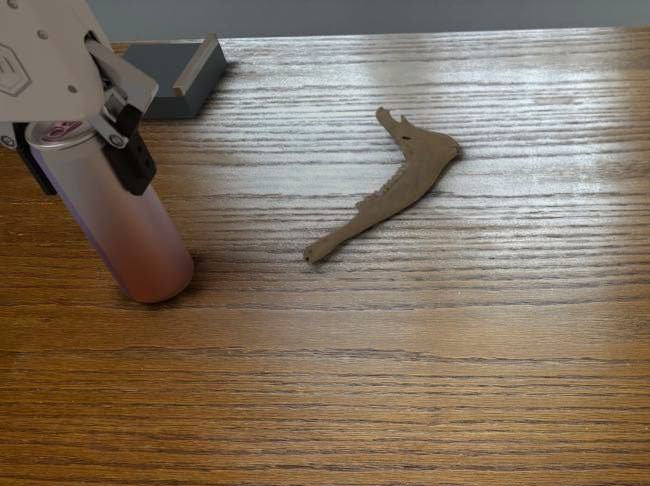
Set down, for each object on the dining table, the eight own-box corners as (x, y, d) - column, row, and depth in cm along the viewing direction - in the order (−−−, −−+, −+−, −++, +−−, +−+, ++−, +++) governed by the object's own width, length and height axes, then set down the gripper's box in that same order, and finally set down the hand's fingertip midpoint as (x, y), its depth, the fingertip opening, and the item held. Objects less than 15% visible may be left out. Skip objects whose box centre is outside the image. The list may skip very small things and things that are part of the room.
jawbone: (472, 133, 79) (470, 114, 78) (407, 286, 68) (404, 268, 66) (381, 121, 81) (377, 102, 79) (302, 270, 69) (296, 251, 67)
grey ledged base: (102, 119, 86) (85, 88, 83) (141, 65, 92) (126, 34, 89) (194, 118, 84) (179, 86, 81) (228, 64, 90) (215, 32, 87)
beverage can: (109, 296, 69) (2, 139, 57) (156, 249, 72) (64, 91, 60) (166, 314, 67) (67, 155, 55) (212, 265, 70) (127, 104, 58)
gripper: (-229, -40, 47) (-29, 216, 61) (54, -51, 44) (194, 218, 58) (-147, -98, 51) (21, 153, 65) (114, -111, 49) (230, 152, 63)
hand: (102, 181), depth 62 cm, fingers closed on beverage can, 6 cm apart
